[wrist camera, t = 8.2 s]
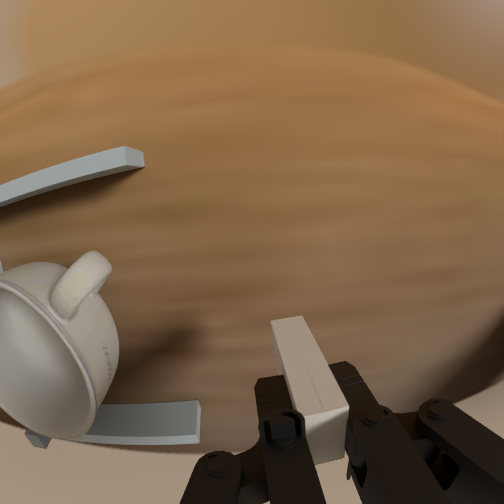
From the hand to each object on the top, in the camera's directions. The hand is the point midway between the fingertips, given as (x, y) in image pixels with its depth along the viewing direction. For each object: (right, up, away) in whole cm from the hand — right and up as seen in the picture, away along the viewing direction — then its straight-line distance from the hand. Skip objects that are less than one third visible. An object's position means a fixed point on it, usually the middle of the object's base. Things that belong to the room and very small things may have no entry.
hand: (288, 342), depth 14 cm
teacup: (-15, 0, +6) cm, 16 cm away
